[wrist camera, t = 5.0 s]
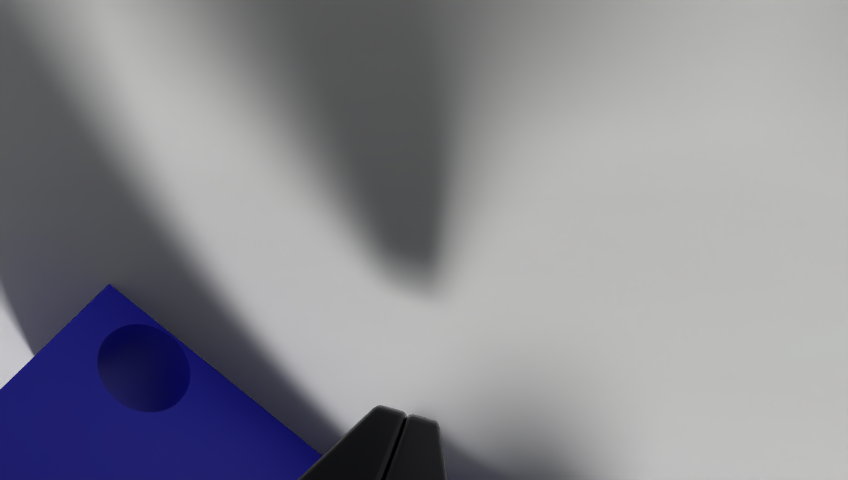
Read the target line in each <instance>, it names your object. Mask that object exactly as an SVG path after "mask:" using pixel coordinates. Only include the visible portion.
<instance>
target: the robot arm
mask: <svg viewBox="0 0 848 480" xmlns="http://www.w3.org/2000/svg"><path fill="white" fill-rule="evenodd" d="M297 480H447V475H446V468H445V461H444V455H443V448H442V441H441V434H440V428H439V425H438V423H437V422H436V421H434V420H431V419H427V418H424V417H420V416H417V415H409V416H408V417H407V416H406V414H405V413H404V412H403V411H400V410H396V409H393V408H389V407H386V406H381V405H379V406H376V407H375V408H373V409H372V410H371V411H370V412H369V413H368V414H367V415H366V416H365V417H364V418H362V419H361V420H360V421H359V422H358V423H357V424H356V425H355V426H354V427H353V428H352V429H351V430H350V431H349V432H348V433H346V434H345V435H344V436H343V437H342V438H341V439H340V440H339V441H338V442H337V443H336V444H335V445H334V446H333V447H331V448H330V449H329V450H328V451H327V452H326V453H325V454H324V455H323V456H322V457H321V458H320V459H319V460H318V461H317V462H315V463H314V464H313V465H312V466H311V467H310V468H309V469H308V470H307V471H306V472H305V473H304V474H303V475H302V476H301V477H299V478H298V479H297Z"/></svg>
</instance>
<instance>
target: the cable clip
mask: <svg viewBox="0 0 848 480" xmlns="http://www.w3.org/2000/svg"><path fill="white" fill-rule="evenodd" d="M321 457H322V455H320V454H319V453H318V452H317V451H315V450H314V449H313V448H312V447H310V446H309V445H308V444H307V443H305V442H304V441H303V440H302V439H301V438H299V437H298V436H297V435H296V434H294V433H293V432H292V431H291V430H289V429H288V428H287V427H286V426H284V425H283V424H282V423H281V422H280V421H278V420H277V419H276V418H275V417H273V416H272V415H271V414H270V413H268V412H267V411H266V410H265V409H263V408H262V407H261V406H260V405H258V404H257V403H256V402H255V401H254V400H252V399H251V398H250V397H249V396H247V395H246V394H245V393H244V392H242V391H241V390H240V389H239V388H237V387H236V386H235V385H234V384H233V383H231V382H230V381H229V380H228V379H226V378H225V377H224V376H223V375H221V374H220V373H219V372H218V371H216V370H215V369H214V368H213V367H211V366H210V365H209V364H208V363H207V362H205V361H204V360H203V359H202V358H200V357H199V356H198V355H197V354H195V353H194V352H193V351H192V350H190V349H189V348H188V347H187V346H186V345H184V344H183V343H182V342H181V341H179V340H178V339H177V338H176V337H174V336H173V335H172V334H171V333H169V332H168V331H167V330H166V329H164V328H163V327H162V326H161V325H160V324H158V323H157V322H156V321H155V320H153V319H152V318H151V317H150V316H148V315H147V314H146V313H145V312H143V311H142V310H141V309H140V308H139V307H137V306H136V305H135V304H134V303H132V302H131V301H130V300H129V299H127V298H126V297H125V296H124V295H122V294H121V293H120V292H119V291H117V290H116V289H115V288H114V287H113V286H111V285H110V284H109V285H108V286H107V287H106V288H105V289H104V290H103V291H102V292H100V293H99V294H98V295H97V296H96V297H95V298H94V299H93V300H92V301H91V302H90V303H89V304H88V305H87V306H86V307H85V308H84V309H83V310H82V311H81V312H80V313H79V314H78V315H77V316H76V317H75V318H74V319H73V320H72V321H71V322H70V323H68V324H67V325H66V326H65V327H64V328H63V329H62V330H61V331H60V332H59V333H58V334H57V335H56V336H55V337H54V338H53V339H52V340H51V341H50V342H49V343H48V344H47V345H46V346H45V347H44V348H43V349H42V350H41V351H40V352H39V353H38V354H37V355H35V356H34V357H33V358H32V359H31V360H30V361H29V362H28V363H27V364H26V365H25V366H24V367H23V368H22V369H21V370H20V371H19V372H18V373H17V374H16V375H15V376H14V377H13V378H12V379H11V380H10V381H9V382H8V383H7V384H6V385H5V386H4V387H2V388H1V389H0V480H297V479H298V478H299V477H301V476H302V475H303V474H304V473H305V472H306V471H307V470H308V469H309V468H310V467H311V466H312V465H313V464H314V463H315V462H317V461H318V460H319V459H320V458H321Z"/></svg>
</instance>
